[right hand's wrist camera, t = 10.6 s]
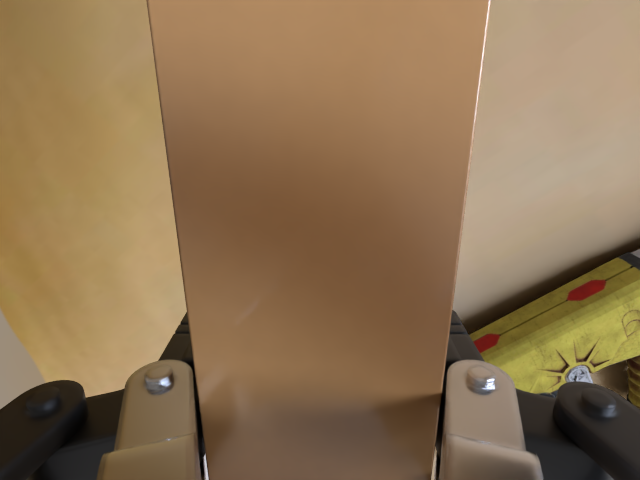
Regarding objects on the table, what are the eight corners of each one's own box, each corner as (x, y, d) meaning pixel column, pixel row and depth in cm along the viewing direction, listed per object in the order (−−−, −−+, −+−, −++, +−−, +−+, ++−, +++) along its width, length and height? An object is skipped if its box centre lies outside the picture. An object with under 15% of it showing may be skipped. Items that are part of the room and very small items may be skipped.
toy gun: (791, 375, 32) (774, 224, 26) (505, 505, 35) (434, 396, 29) (730, 338, 36) (704, 201, 30) (481, 457, 39) (414, 353, 34)
